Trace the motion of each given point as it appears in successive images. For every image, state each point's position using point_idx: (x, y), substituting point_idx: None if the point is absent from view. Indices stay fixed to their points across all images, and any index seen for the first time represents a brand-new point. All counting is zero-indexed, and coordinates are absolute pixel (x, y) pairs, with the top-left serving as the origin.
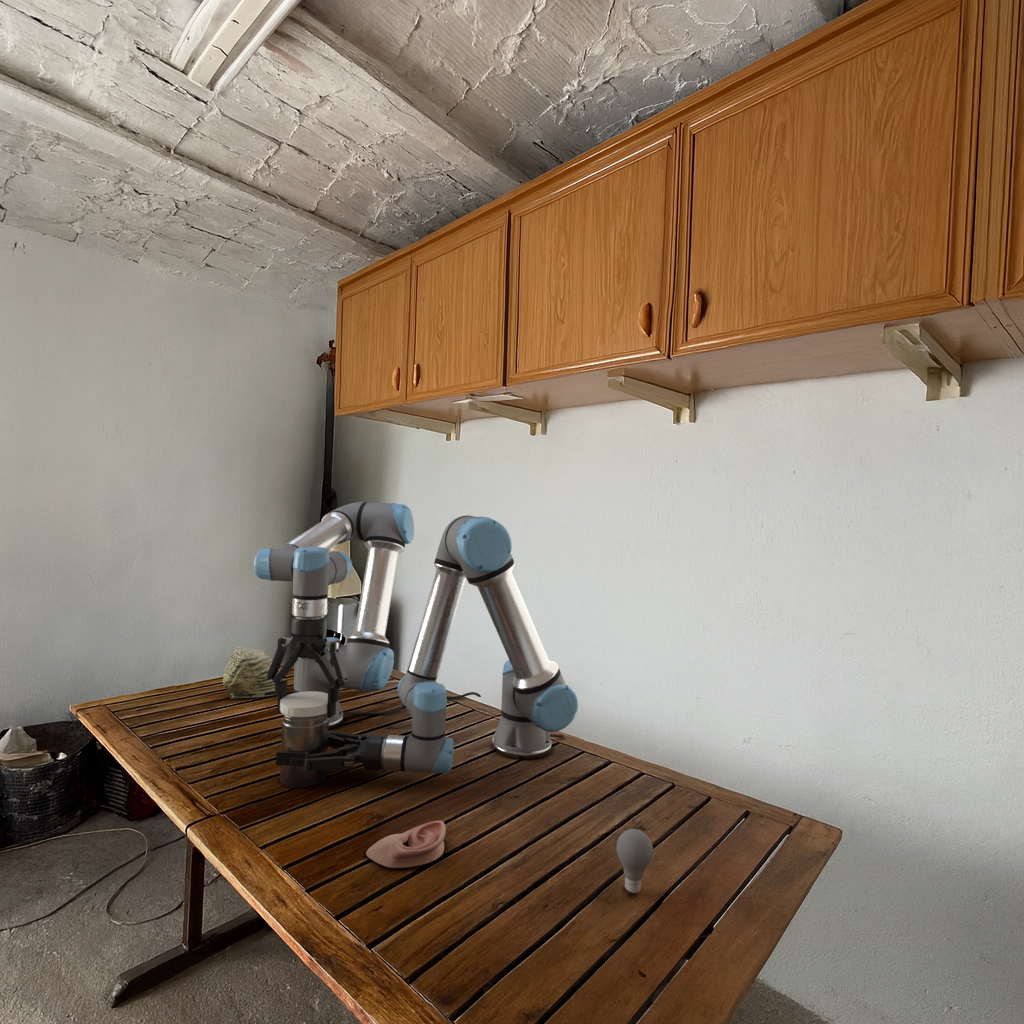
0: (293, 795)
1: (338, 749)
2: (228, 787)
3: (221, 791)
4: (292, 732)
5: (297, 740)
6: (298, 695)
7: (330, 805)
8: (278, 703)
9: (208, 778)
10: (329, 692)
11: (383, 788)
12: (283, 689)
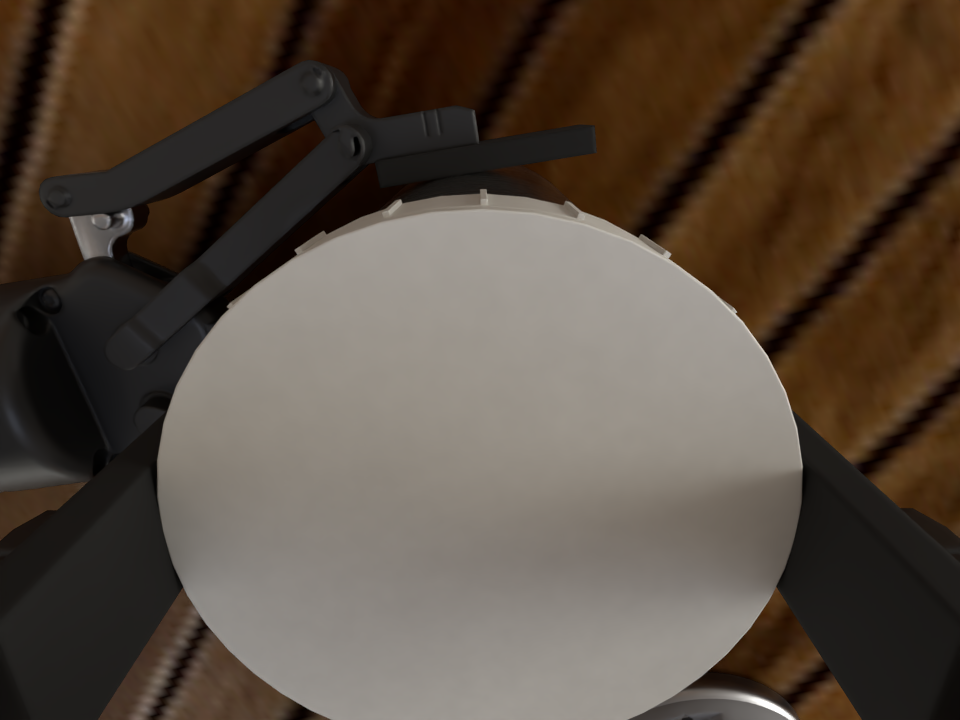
0: (430, 74)
1: (197, 279)
2: (803, 71)
3: (821, 14)
4: (497, 189)
5: (449, 185)
6: (639, 613)
7: (188, 14)
8: (808, 436)
9: (948, 144)
10: (12, 572)
11: (60, 266)
12: (860, 597)
